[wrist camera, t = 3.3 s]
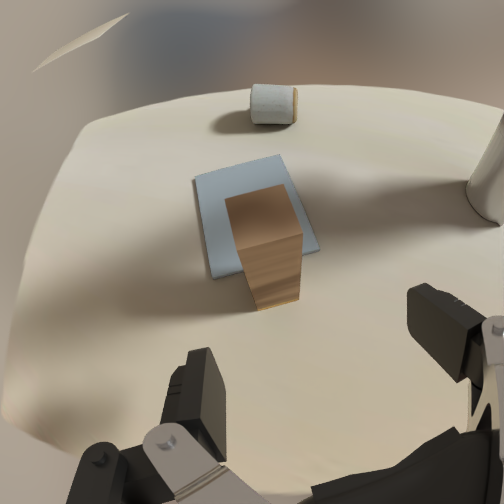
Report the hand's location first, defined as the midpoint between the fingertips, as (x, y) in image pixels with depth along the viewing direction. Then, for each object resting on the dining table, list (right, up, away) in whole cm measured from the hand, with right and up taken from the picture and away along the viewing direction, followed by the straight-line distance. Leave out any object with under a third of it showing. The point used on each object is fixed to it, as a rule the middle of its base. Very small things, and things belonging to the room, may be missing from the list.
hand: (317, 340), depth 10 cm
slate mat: (-3, +9, +31) cm, 33 cm away
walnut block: (0, -1, +25) cm, 25 cm away
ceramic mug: (+2, +29, +42) cm, 51 cm away
